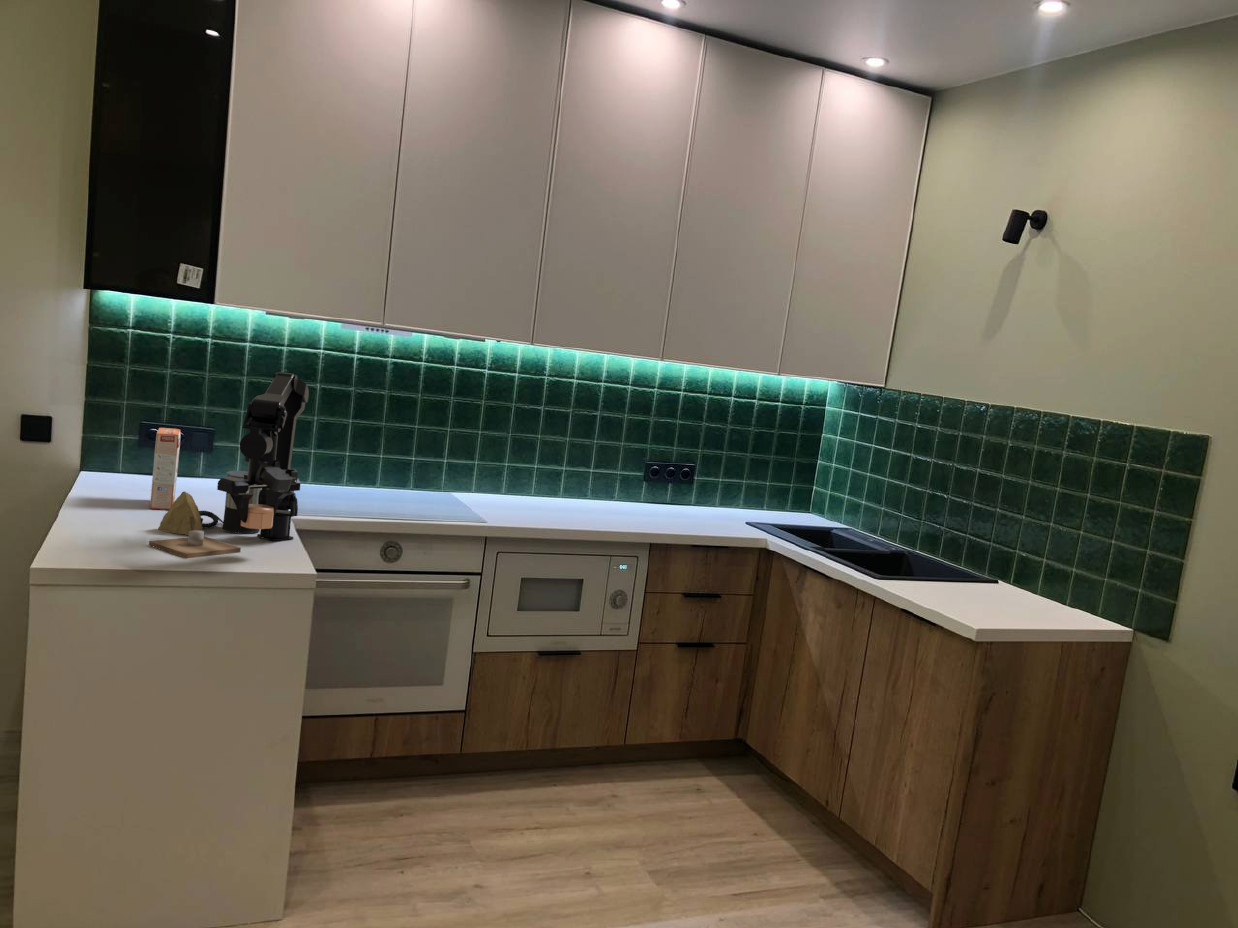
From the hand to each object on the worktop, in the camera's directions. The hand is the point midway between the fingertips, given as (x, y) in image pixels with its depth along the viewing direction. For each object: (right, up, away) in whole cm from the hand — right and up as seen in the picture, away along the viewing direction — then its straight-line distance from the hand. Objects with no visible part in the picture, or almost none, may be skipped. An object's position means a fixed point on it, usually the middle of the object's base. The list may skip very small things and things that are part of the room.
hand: (257, 521), depth 228 cm
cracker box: (-43, +2, +46) cm, 63 cm away
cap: (0, -1, 0) cm, 1 cm away
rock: (-25, -4, +16) cm, 29 cm away
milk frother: (-18, -4, +26) cm, 32 cm away
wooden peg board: (-15, -6, +1) cm, 16 cm away
